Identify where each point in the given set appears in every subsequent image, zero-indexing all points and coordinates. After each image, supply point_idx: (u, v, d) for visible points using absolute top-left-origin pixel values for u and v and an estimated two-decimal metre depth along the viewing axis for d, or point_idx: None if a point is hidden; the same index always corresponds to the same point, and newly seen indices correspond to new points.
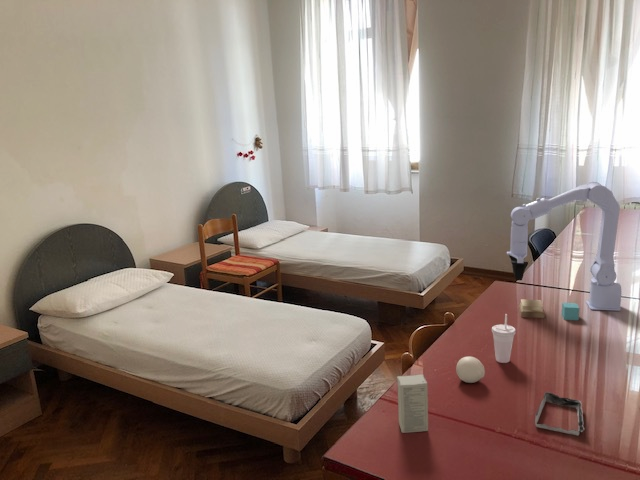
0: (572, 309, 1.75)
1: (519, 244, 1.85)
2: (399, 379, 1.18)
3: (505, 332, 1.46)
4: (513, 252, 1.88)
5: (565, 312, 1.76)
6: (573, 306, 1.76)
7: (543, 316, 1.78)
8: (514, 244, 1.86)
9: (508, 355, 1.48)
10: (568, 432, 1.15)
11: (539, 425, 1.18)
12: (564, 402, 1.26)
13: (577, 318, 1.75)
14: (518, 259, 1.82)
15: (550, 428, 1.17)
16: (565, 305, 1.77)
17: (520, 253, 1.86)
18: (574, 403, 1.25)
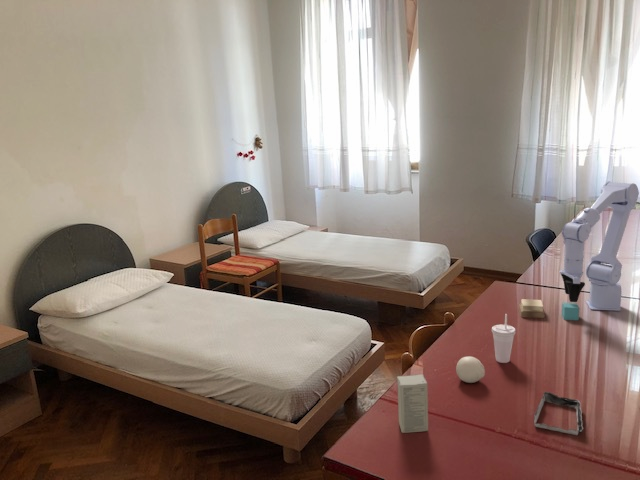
0: (572, 309, 1.75)
1: (574, 263, 1.71)
2: (399, 379, 1.18)
3: (505, 332, 1.46)
4: (567, 271, 1.73)
5: (565, 312, 1.76)
6: (573, 306, 1.76)
7: (543, 316, 1.78)
8: (569, 263, 1.72)
9: (508, 355, 1.48)
10: (567, 432, 1.15)
11: (538, 425, 1.18)
12: (563, 402, 1.26)
13: (577, 318, 1.75)
14: (574, 279, 1.68)
15: (549, 428, 1.17)
16: (565, 305, 1.77)
17: (575, 272, 1.71)
18: (573, 403, 1.25)
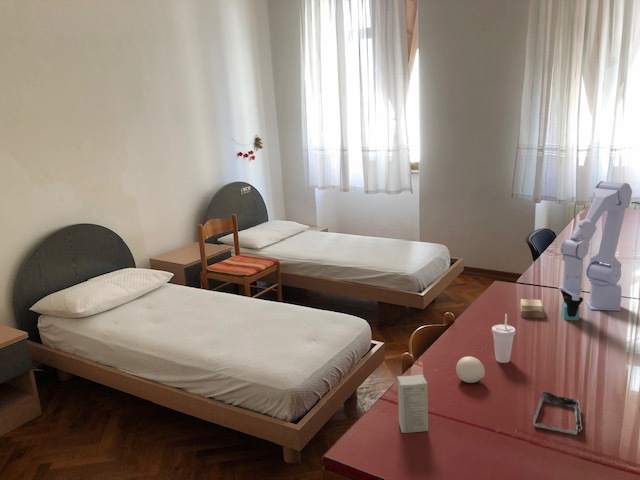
0: None
1: (573, 279, 1.72)
2: (399, 379, 1.18)
3: (505, 332, 1.46)
4: (566, 287, 1.74)
5: (565, 312, 1.76)
6: None
7: (543, 316, 1.78)
8: (568, 279, 1.73)
9: (508, 355, 1.48)
10: (566, 431, 1.15)
11: (537, 424, 1.18)
12: (562, 402, 1.26)
13: (577, 318, 1.75)
14: (573, 296, 1.69)
15: (548, 427, 1.17)
16: (565, 305, 1.77)
17: (574, 289, 1.73)
18: (572, 402, 1.25)
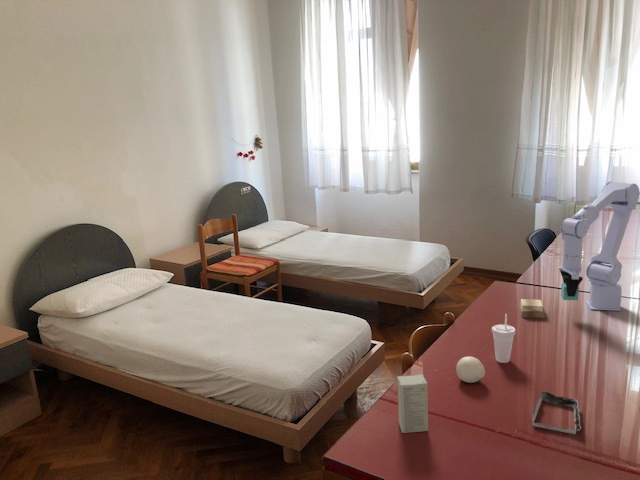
0: None
1: (573, 258, 1.71)
2: (399, 379, 1.18)
3: (505, 332, 1.46)
4: (565, 267, 1.73)
5: (564, 292, 1.74)
6: None
7: (543, 316, 1.78)
8: (567, 258, 1.72)
9: (508, 355, 1.48)
10: (565, 431, 1.16)
11: (536, 424, 1.18)
12: (561, 401, 1.26)
13: (576, 298, 1.74)
14: (573, 275, 1.68)
15: (547, 427, 1.17)
16: (564, 285, 1.76)
17: (574, 268, 1.71)
18: (570, 402, 1.25)
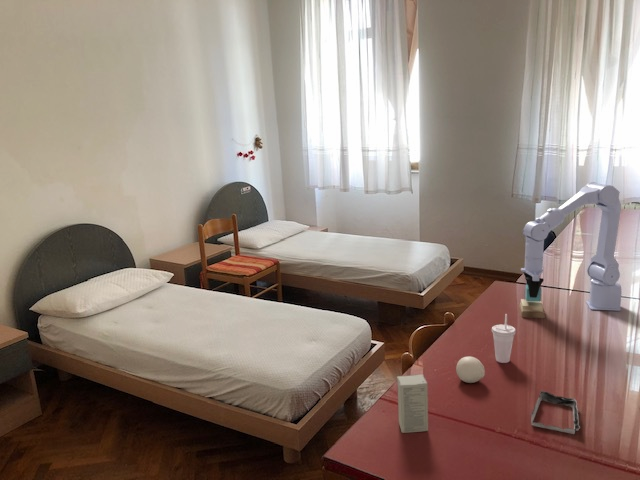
0: None
1: (534, 261, 1.76)
2: (399, 379, 1.18)
3: (505, 332, 1.46)
4: (527, 269, 1.78)
5: (527, 293, 1.79)
6: None
7: (543, 316, 1.78)
8: (529, 261, 1.77)
9: (508, 355, 1.48)
10: (564, 430, 1.16)
11: (535, 424, 1.18)
12: (560, 401, 1.27)
13: (539, 299, 1.79)
14: (533, 277, 1.73)
15: (546, 427, 1.17)
16: None
17: (535, 270, 1.76)
18: (569, 402, 1.25)
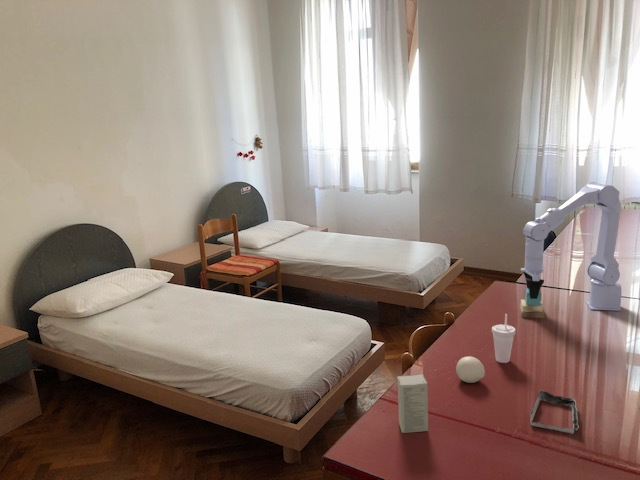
0: None
1: (534, 261, 1.76)
2: (399, 379, 1.18)
3: (505, 332, 1.46)
4: (527, 269, 1.78)
5: (527, 297, 1.80)
6: None
7: (543, 317, 1.78)
8: (529, 261, 1.77)
9: (508, 355, 1.48)
10: (563, 430, 1.16)
11: (534, 423, 1.18)
12: (559, 401, 1.27)
13: (539, 303, 1.79)
14: (533, 277, 1.73)
15: (545, 426, 1.18)
16: (528, 291, 1.81)
17: (535, 270, 1.76)
18: (568, 401, 1.26)
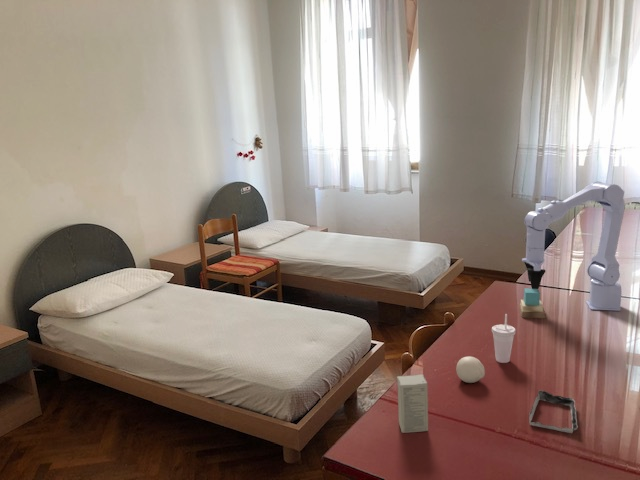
0: (533, 295, 1.79)
1: (536, 251, 1.75)
2: (399, 379, 1.18)
3: (505, 332, 1.46)
4: (528, 259, 1.77)
5: (526, 297, 1.80)
6: (534, 291, 1.80)
7: (544, 317, 1.78)
8: (530, 251, 1.76)
9: (508, 355, 1.48)
10: (562, 430, 1.16)
11: (533, 423, 1.19)
12: (558, 400, 1.27)
13: (538, 303, 1.79)
14: (535, 267, 1.72)
15: (544, 426, 1.18)
16: (526, 290, 1.81)
17: (537, 260, 1.76)
18: (567, 401, 1.26)
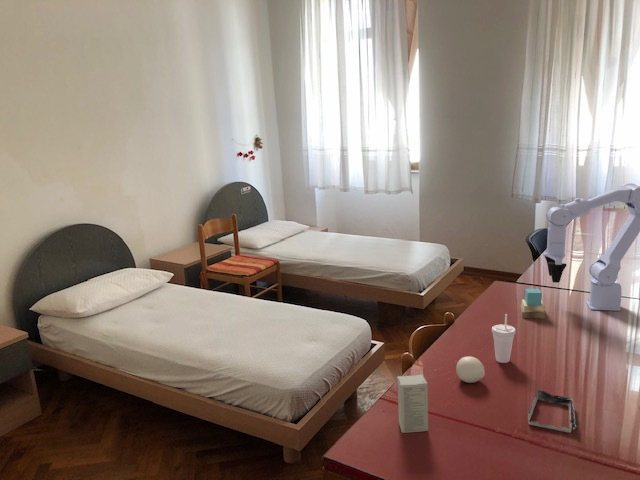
0: (534, 295, 1.79)
1: (557, 245, 1.80)
2: (399, 379, 1.18)
3: (505, 332, 1.46)
4: (550, 253, 1.82)
5: (528, 297, 1.80)
6: (536, 291, 1.80)
7: (544, 316, 1.78)
8: (551, 245, 1.81)
9: (508, 355, 1.48)
10: (560, 429, 1.16)
11: (532, 422, 1.19)
12: (556, 400, 1.27)
13: (539, 303, 1.79)
14: (556, 261, 1.77)
15: (543, 425, 1.18)
16: (528, 291, 1.81)
17: (558, 254, 1.81)
18: (566, 400, 1.26)
